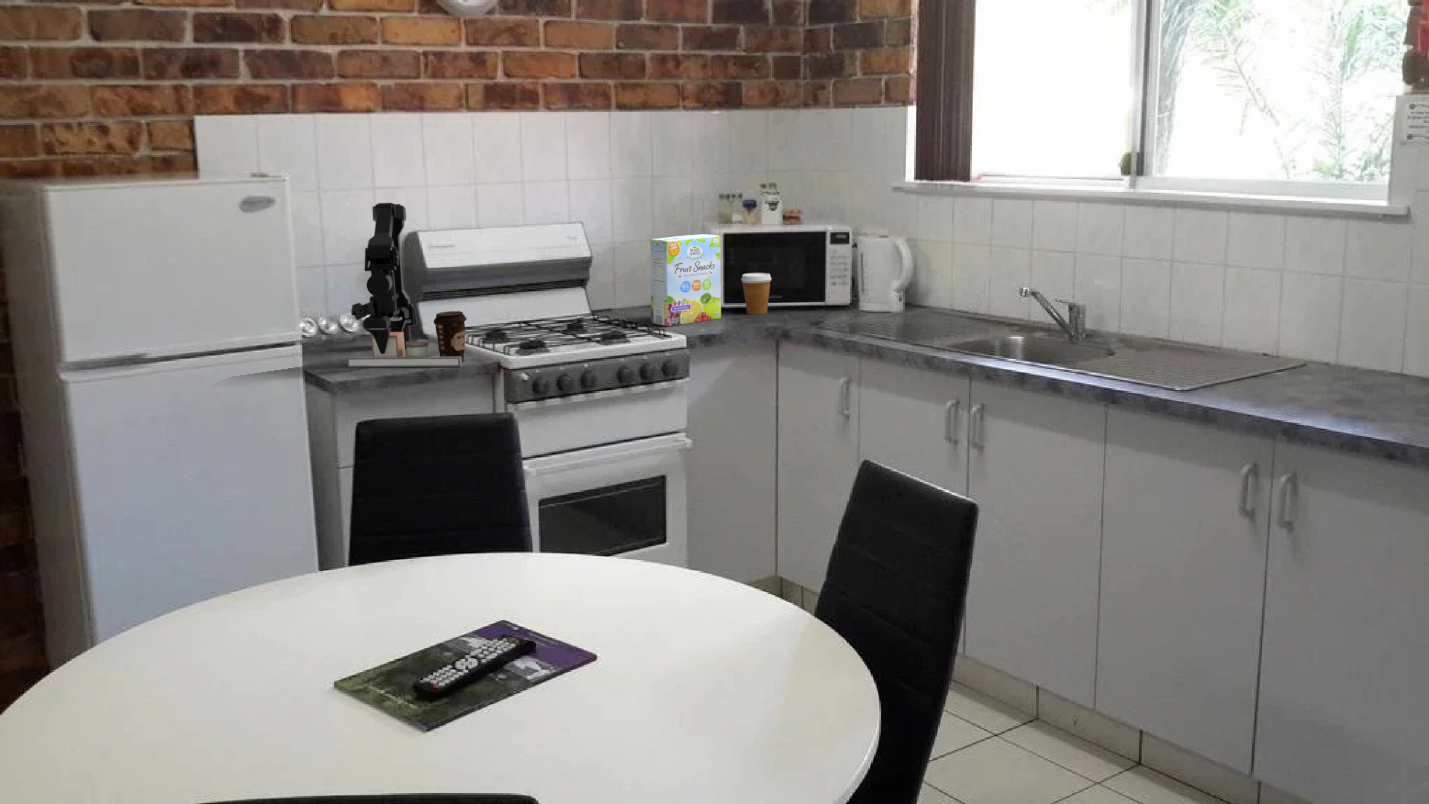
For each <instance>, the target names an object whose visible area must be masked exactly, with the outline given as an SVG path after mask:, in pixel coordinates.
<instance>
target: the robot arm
mask: <svg viewBox="0 0 1429 804" xmlns="http://www.w3.org/2000/svg"><path fill="white" fill-rule="evenodd" d="M371 210H372V221H374V222H375V225H374V233H373V234H374V235H373V236H372V237H370V238H369V239H368V242H367V245H366V246H367V247H365V248H364V272H370V274H371V275H370V276H369V278H368V279H367V280H366V288H367V292H369V294H371V296H370V297H369V302H366V303H364V304H362V303H361V302H357V303H355V304H352V305H351V309H350V310H351V311H350V312H351V316H352V317H353V316H354V318H355V321H360V320H361V319H363V318H364V319H363V320H362V328H363V329H364V330H365V331H366V332H369V334H371V335H373V336H374V338H375V341H376V343H377V346H378V348H379V351H380V353H381V354H385V351H386V348H387V344H388V339H389V335H390V332H404V344H405V349H407V347H406V341H410V340H412V338H411V326H415V325H418V321H417V313H416V312H417V311H416V308H415V307H414V306H413V303H411V297H410V295H409V294H408V293H407V291H406V290H405V288H404V278H403V277H404V276H403V268H402V267H403V266H402V253H401V240H400V235H401V234H402V232H403V230H404V228H405V221H407V211H406V207H405V206H404V205H401V203H393V202H378V203H376V204H375V205H374V206H372V207H371Z"/></svg>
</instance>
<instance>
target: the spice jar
mask: <svg viewBox="0 0 1429 804" xmlns="http://www.w3.org/2000/svg"><path fill="white" fill-rule="evenodd" d="M429 345H430V343H429V340H428V339H411V340H410V341H406V347H407V348H406V357H430V350H429V349H430V348H429Z"/></svg>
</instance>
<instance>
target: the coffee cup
mask: <svg viewBox="0 0 1429 804" xmlns="http://www.w3.org/2000/svg"><path fill="white" fill-rule="evenodd" d="M467 319H468V318H467V317H466V316H465V314H464V312H463V311H461V310H457V311H456V310H455V311H454V310H451V311H442V312H438V313H436V315H435V318H434V319H433V324H434V325H435V331H436V337H437V344H438V345H437V346H438V351H439V352H438V353H439V357H442V356H461V360H462V363H463V362H465V350H466V333H467V332H466V324H465V322H466V321H467Z"/></svg>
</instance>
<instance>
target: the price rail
mask: <svg viewBox="0 0 1429 804" xmlns="http://www.w3.org/2000/svg"><path fill="white" fill-rule="evenodd" d="M346 362H347V368H461V367H463V362H462V360H461V356H442V357H440V356H429V357H407V356H405V357H373V356H348V357H347V358H346Z"/></svg>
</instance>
